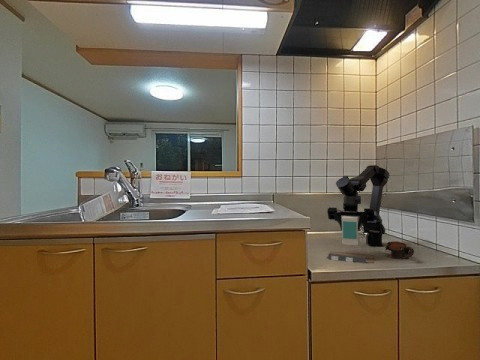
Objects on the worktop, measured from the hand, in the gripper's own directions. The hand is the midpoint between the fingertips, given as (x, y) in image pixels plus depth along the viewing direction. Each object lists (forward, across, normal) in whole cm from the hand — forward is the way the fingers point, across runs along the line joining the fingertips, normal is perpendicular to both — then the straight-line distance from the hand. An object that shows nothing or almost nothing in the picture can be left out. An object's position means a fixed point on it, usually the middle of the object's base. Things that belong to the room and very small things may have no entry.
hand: (349, 230), depth 117 cm
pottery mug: (+2, +19, +16) cm, 25 cm away
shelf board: (+7, 0, +11) cm, 13 cm away
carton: (+3, 0, +5) cm, 6 cm away
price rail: (+12, -1, +6) cm, 13 cm away
